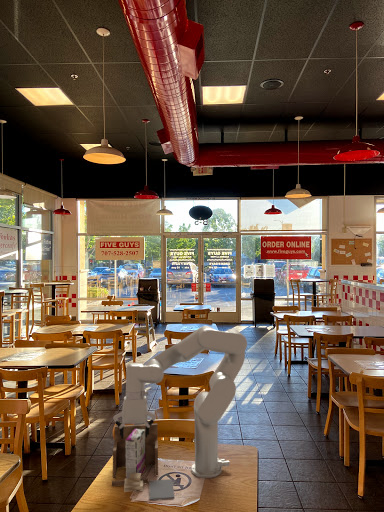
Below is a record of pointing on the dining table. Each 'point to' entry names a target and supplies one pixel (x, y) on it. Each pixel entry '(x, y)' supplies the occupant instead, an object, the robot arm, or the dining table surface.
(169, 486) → the mat
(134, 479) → the offcut stack
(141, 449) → the candy bar box
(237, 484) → the dining table surface
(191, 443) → the dining table surface
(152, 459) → the stand
